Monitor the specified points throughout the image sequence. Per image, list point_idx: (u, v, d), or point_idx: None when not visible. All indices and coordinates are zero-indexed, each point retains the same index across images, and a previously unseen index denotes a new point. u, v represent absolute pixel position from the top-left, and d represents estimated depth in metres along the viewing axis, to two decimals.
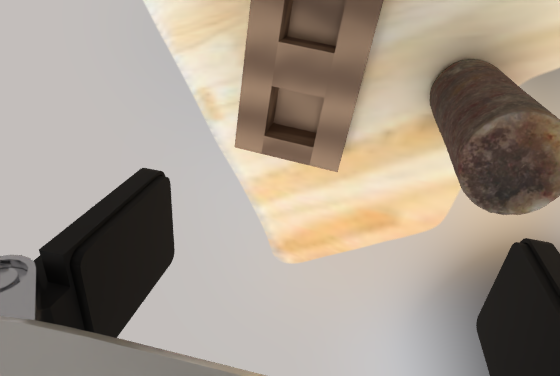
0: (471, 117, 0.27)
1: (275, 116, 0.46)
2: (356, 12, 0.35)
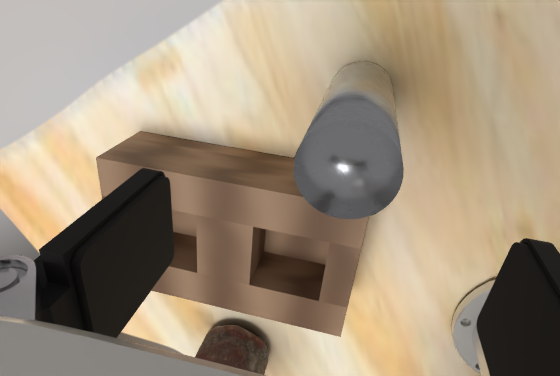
0: None
1: None
2: (294, 306, 0.30)
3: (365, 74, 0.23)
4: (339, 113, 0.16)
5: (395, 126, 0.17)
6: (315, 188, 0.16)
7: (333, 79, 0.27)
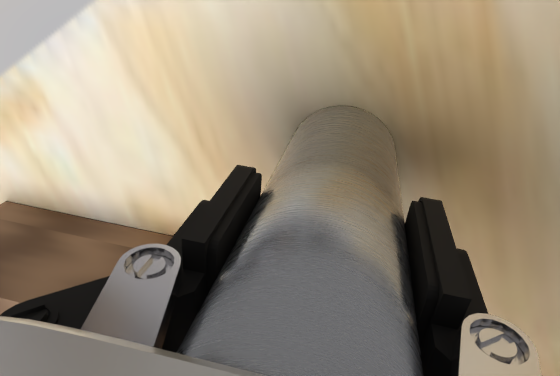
0: None
1: None
2: None
3: (342, 152, 0.11)
4: None
5: None
6: None
7: (291, 139, 0.15)
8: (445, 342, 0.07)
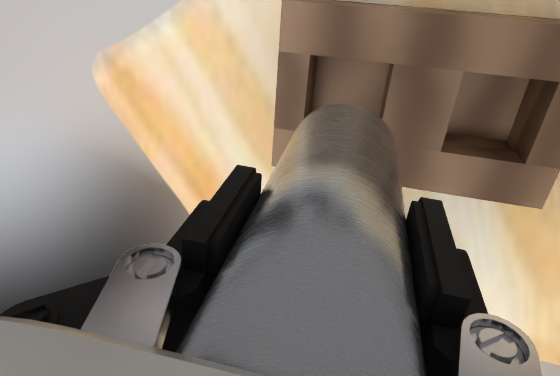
0: None
1: None
2: (492, 174, 0.27)
3: (343, 150, 0.11)
4: None
5: None
6: None
7: None
8: (445, 342, 0.07)
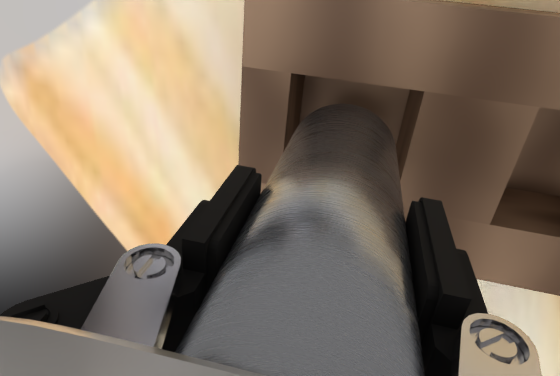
0: None
1: None
2: None
3: (343, 150, 0.11)
4: None
5: None
6: None
7: (291, 137, 0.15)
8: (445, 342, 0.07)
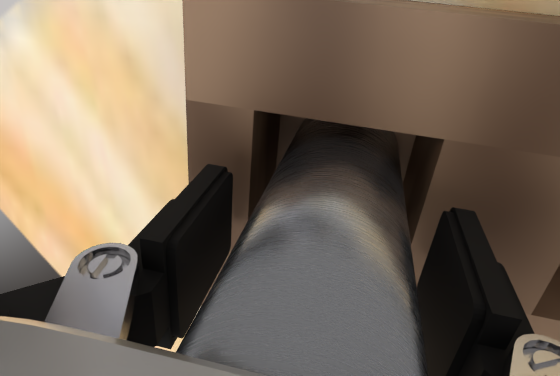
0: None
1: None
2: None
3: (346, 144, 0.11)
4: None
5: (419, 359, 0.06)
6: None
7: (295, 134, 0.15)
8: (494, 364, 0.07)
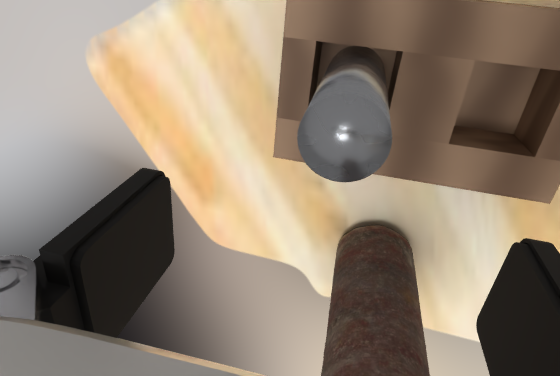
0: None
1: None
2: (500, 168, 0.27)
3: (359, 56, 0.25)
4: (336, 88, 0.18)
5: (385, 100, 0.20)
6: (316, 155, 0.19)
7: (330, 62, 0.29)
8: None
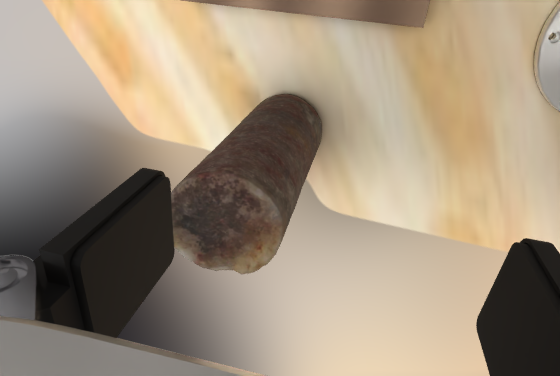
0: (265, 166, 0.23)
1: None
2: None
3: None
4: None
5: None
6: None
7: None
8: None
